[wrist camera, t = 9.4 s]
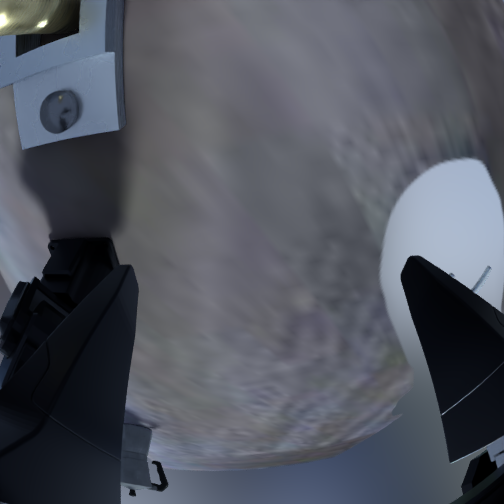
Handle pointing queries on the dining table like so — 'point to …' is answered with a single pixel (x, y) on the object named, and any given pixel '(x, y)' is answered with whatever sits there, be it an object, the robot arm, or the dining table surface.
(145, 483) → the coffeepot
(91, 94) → the slotted mounting bracket
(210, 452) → the dining table surface
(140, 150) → the dining table surface
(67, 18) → the pin
